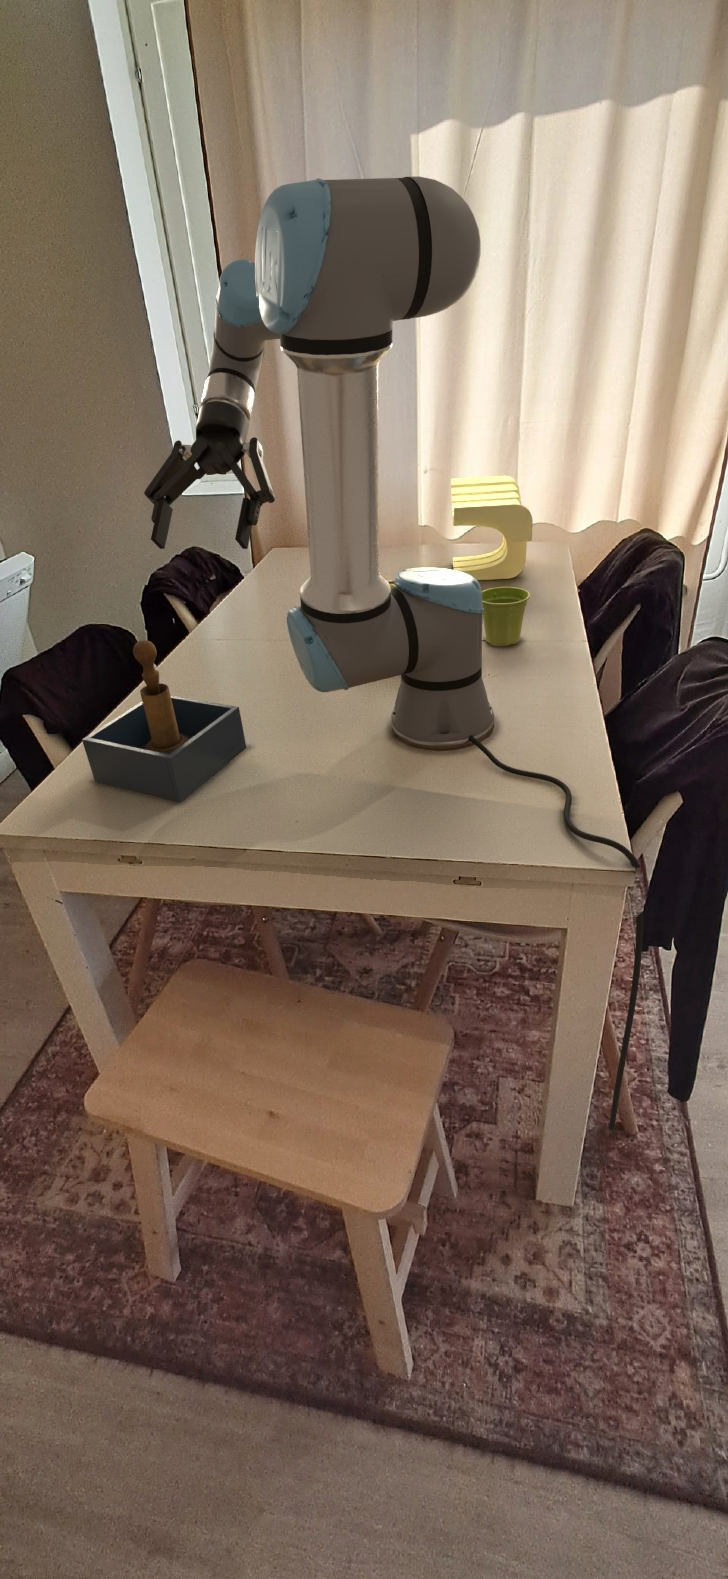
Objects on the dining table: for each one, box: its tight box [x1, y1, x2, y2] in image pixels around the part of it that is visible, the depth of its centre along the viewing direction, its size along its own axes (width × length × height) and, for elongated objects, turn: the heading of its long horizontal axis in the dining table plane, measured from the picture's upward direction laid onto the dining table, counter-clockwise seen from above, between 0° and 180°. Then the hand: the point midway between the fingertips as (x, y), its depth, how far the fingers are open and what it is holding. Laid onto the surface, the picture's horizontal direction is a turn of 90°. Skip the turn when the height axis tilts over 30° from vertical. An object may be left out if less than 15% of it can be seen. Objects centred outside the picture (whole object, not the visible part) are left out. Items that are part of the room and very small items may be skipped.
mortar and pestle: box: [132, 639, 190, 755], centre depth 106 cm, size 7×6×18 cm
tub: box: [81, 694, 247, 803], centre depth 110 cm, size 16×16×7 cm
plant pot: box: [481, 586, 531, 647], centre depth 139 cm, size 9×9×9 cm
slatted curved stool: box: [450, 475, 534, 581], centre depth 173 cm, size 30×16×18 cm, turn 176°
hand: (198, 544), depth 111 cm, fingers open, 13 cm apart
